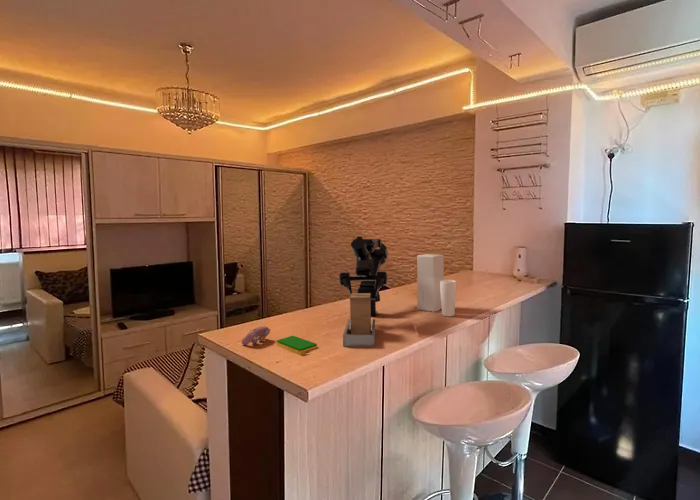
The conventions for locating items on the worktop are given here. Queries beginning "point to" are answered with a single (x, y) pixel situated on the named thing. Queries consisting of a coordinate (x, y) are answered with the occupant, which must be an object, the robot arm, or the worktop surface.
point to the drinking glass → (448, 297)
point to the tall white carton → (429, 281)
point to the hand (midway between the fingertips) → (363, 296)
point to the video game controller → (256, 335)
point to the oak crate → (360, 313)
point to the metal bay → (358, 337)
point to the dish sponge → (296, 345)
